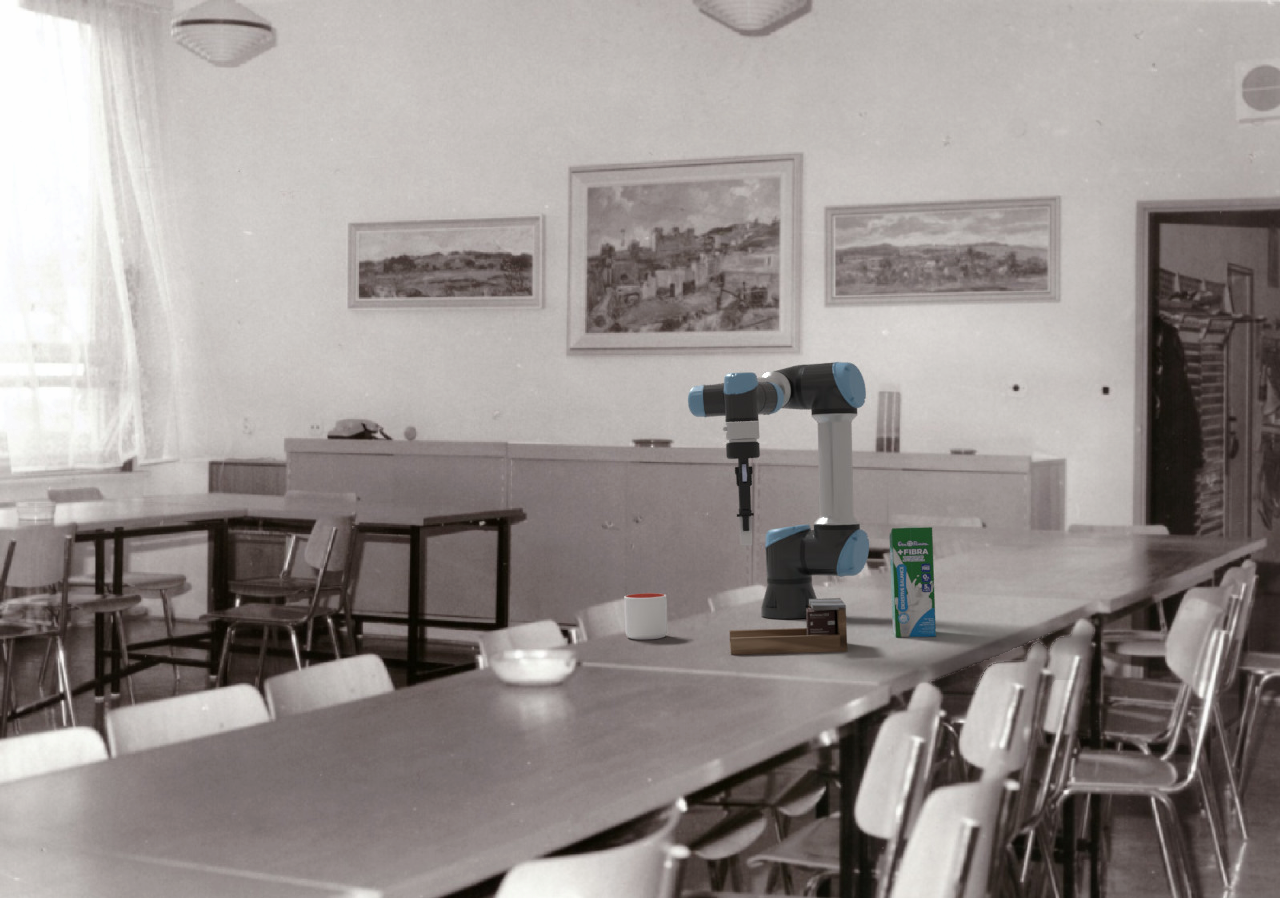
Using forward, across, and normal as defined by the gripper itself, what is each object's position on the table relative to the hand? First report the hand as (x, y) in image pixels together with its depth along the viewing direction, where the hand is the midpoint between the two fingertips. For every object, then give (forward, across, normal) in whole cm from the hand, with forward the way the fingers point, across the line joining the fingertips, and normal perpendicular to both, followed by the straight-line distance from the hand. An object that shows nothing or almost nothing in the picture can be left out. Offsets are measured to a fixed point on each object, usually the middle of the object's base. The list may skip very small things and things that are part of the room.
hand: (746, 545), depth 326 cm
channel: (+22, +8, +8) cm, 25 cm away
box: (+22, +8, +16) cm, 28 cm away
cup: (+23, -16, -24) cm, 37 cm away
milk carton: (+23, -8, +38) cm, 45 cm away
